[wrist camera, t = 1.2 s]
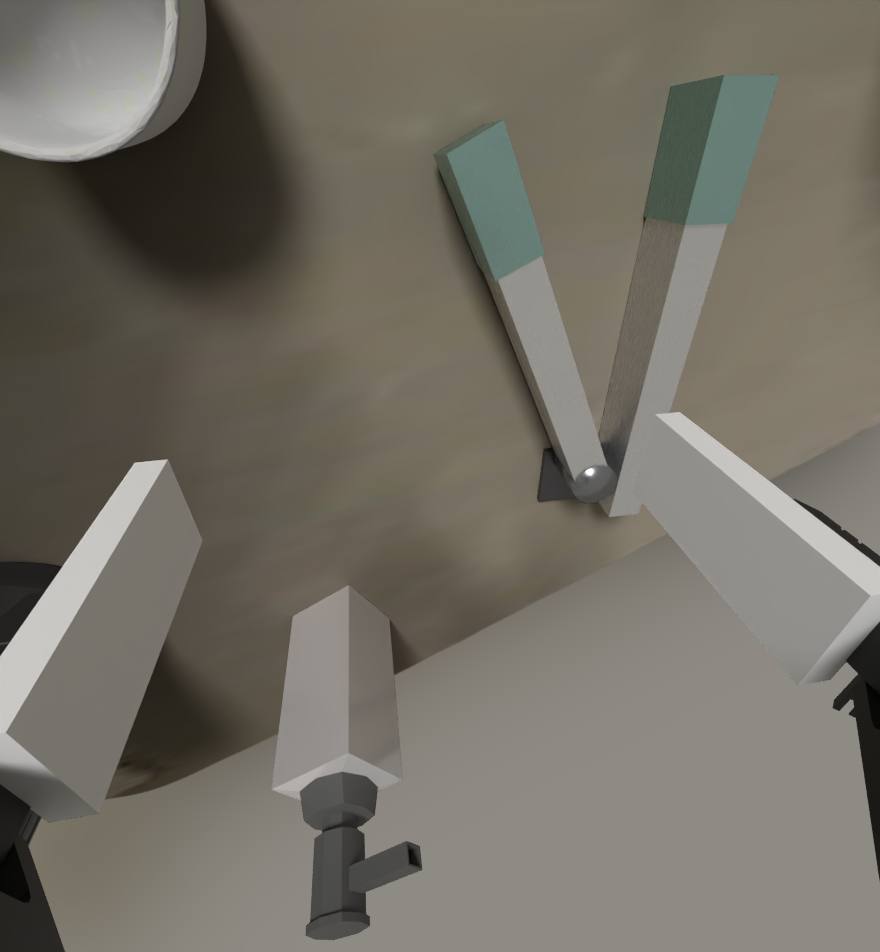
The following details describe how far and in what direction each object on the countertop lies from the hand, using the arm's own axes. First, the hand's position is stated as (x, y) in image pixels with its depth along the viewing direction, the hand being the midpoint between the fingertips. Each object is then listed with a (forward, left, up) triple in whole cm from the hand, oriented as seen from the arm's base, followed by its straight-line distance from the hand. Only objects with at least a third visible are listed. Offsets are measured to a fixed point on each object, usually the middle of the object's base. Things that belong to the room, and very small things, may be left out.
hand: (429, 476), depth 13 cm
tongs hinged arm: (+9, -3, -18) cm, 21 cm away
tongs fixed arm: (+15, -3, -19) cm, 24 cm away
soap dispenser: (-6, -28, -19) cm, 35 cm away
